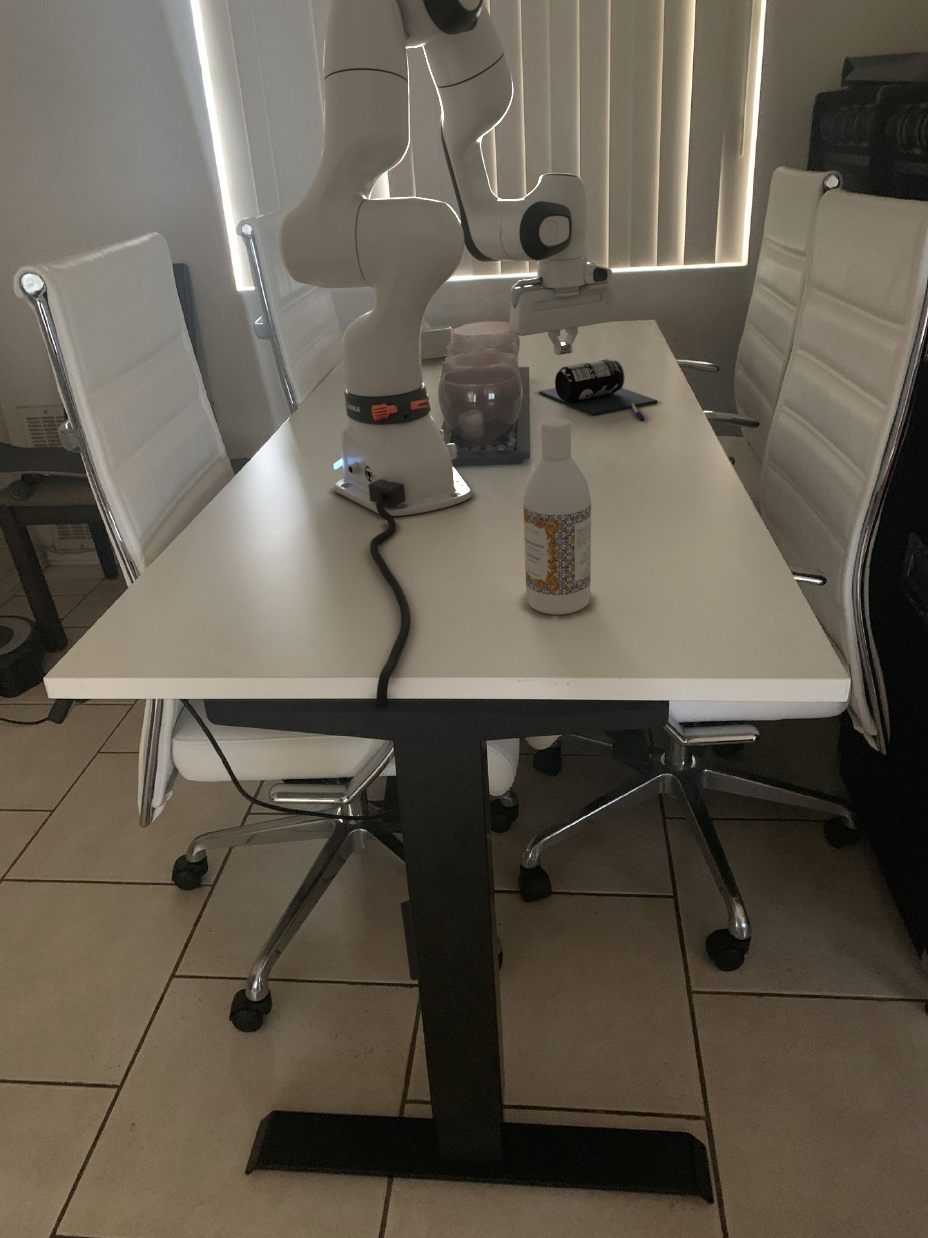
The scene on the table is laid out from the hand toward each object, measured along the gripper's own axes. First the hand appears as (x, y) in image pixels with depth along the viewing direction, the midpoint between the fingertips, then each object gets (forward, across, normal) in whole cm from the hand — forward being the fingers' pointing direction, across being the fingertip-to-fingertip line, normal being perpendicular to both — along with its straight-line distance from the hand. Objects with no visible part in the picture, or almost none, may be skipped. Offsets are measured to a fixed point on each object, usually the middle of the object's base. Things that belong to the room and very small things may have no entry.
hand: (563, 353), depth 164 cm
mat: (+9, +7, 0) cm, 12 cm away
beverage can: (+6, -1, -1) cm, 6 cm away
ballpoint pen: (+10, +7, -14) cm, 18 cm away
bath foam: (+9, -42, -70) cm, 82 cm away
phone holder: (+10, -2, +63) cm, 64 cm away
